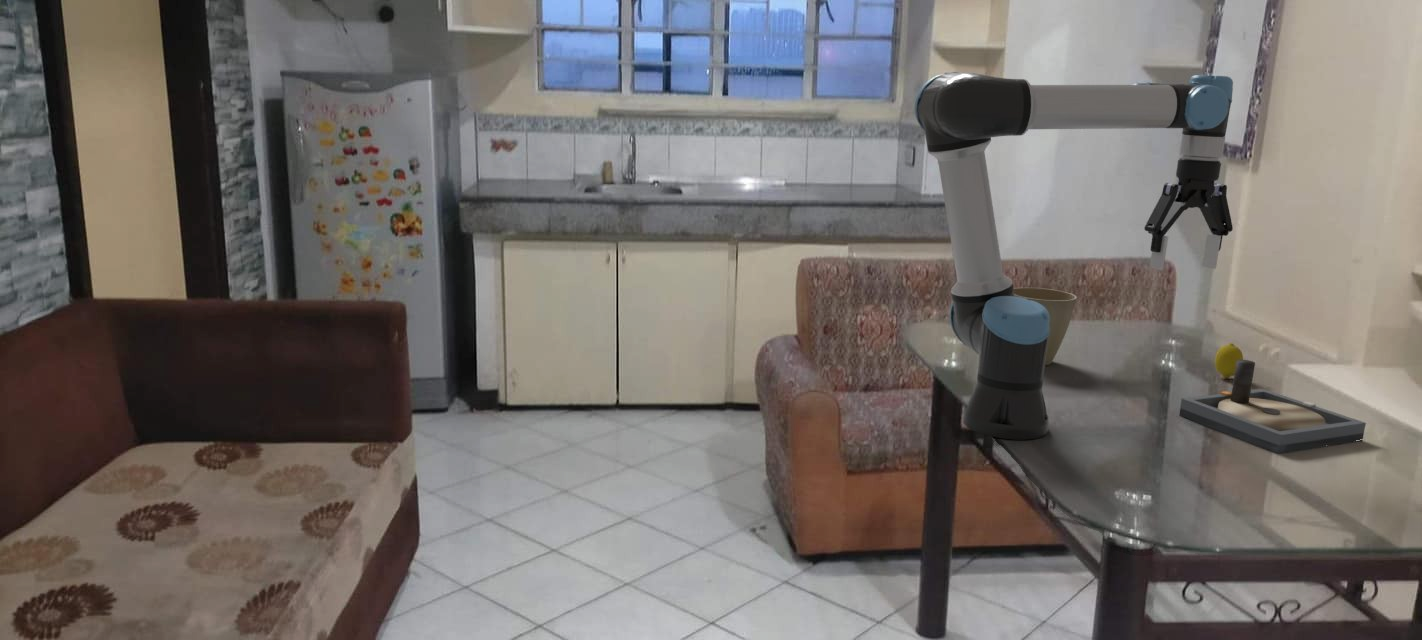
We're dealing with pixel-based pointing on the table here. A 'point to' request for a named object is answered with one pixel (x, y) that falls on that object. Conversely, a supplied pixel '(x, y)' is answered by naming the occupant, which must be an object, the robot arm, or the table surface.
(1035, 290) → the plant pot
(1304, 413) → the dial
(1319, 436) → the dial frame
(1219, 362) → the lemon
